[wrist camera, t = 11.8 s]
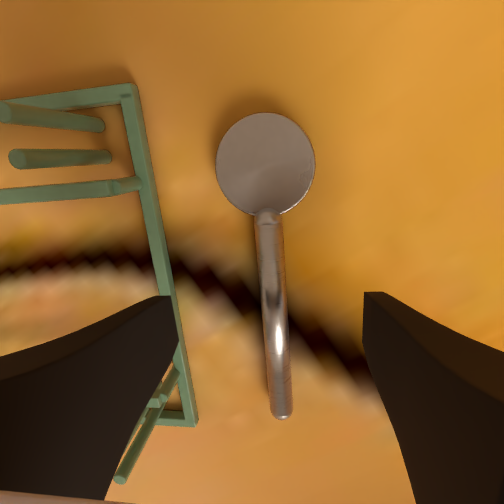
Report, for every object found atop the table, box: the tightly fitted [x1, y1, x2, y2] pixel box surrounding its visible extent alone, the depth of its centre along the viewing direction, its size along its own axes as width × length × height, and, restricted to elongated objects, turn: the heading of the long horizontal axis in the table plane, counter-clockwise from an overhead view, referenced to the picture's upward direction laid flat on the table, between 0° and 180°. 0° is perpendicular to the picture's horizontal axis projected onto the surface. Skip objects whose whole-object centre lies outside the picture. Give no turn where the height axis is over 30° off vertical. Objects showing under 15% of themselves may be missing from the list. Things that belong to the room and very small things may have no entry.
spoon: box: [215, 112, 315, 420], centre depth 13 cm, size 15×4×1 cm, turn 5°
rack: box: [0, 83, 199, 485], centre depth 14 cm, size 18×14×4 cm
